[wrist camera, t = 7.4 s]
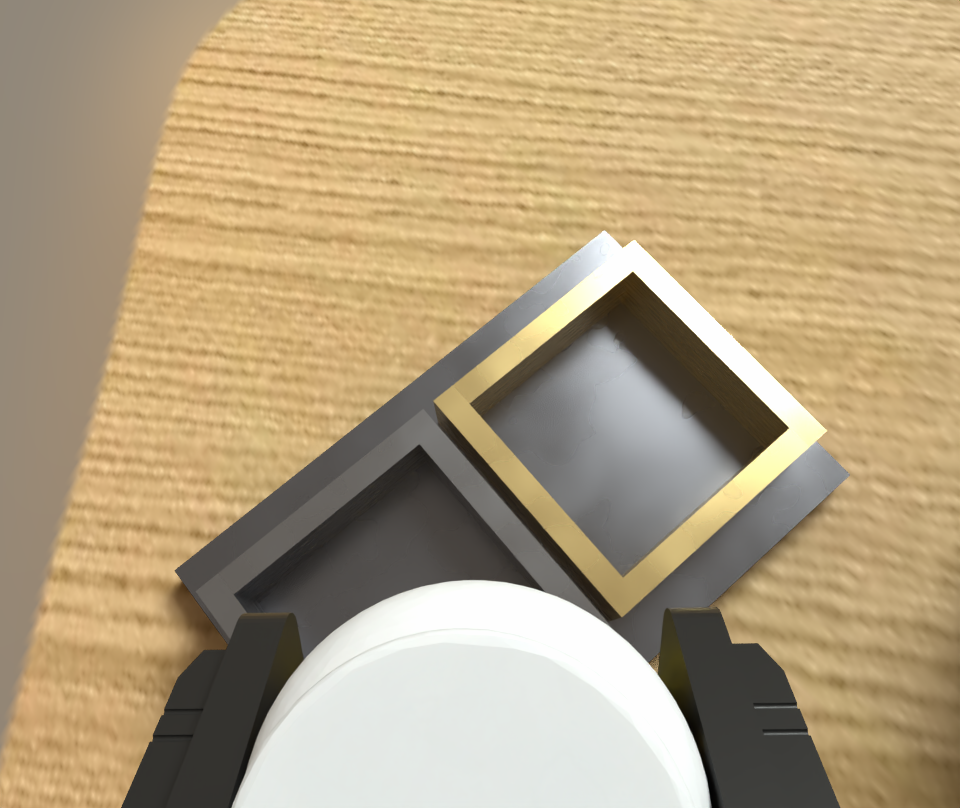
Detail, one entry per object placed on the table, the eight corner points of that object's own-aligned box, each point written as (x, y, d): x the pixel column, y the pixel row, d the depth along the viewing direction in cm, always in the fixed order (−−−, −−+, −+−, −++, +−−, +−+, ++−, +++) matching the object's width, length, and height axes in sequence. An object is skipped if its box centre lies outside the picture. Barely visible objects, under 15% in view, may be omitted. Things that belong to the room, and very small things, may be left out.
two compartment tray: (600, 245, 31) (614, 193, 28) (835, 482, 29) (884, 457, 25) (187, 574, 28) (143, 562, 24) (408, 878, 25) (395, 914, 22)
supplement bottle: (670, 679, 16) (903, 715, 7) (564, 971, 15) (668, 1529, 5) (419, 564, 17) (314, 453, 7) (296, 832, 15) (-23, 1107, 6)
